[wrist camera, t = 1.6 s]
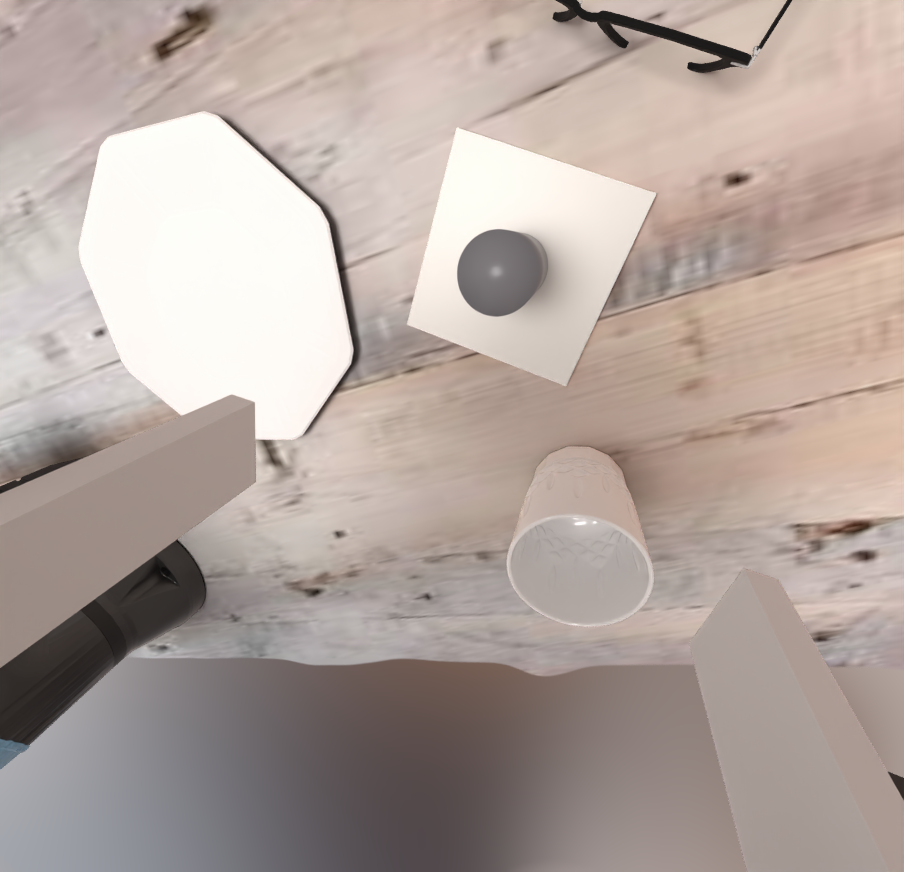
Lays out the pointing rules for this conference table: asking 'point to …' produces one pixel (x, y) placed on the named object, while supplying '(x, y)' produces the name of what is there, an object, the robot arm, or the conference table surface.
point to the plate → (215, 273)
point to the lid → (523, 254)
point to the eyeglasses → (667, 36)
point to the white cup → (580, 542)
